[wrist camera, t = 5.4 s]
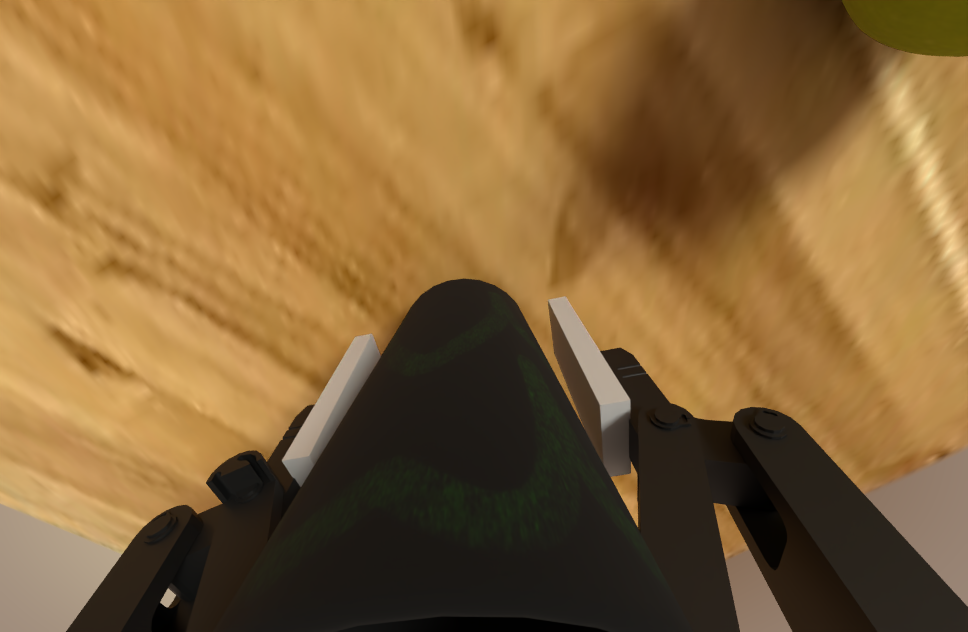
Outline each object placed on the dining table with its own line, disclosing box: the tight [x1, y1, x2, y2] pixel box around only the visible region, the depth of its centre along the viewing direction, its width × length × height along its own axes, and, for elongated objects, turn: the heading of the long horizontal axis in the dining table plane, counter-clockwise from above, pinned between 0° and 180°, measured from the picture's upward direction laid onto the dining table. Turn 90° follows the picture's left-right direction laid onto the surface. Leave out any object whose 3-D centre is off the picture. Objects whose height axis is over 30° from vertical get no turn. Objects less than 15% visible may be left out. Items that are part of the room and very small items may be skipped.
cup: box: [213, 279, 693, 632], centre depth 10 cm, size 8×8×12 cm
